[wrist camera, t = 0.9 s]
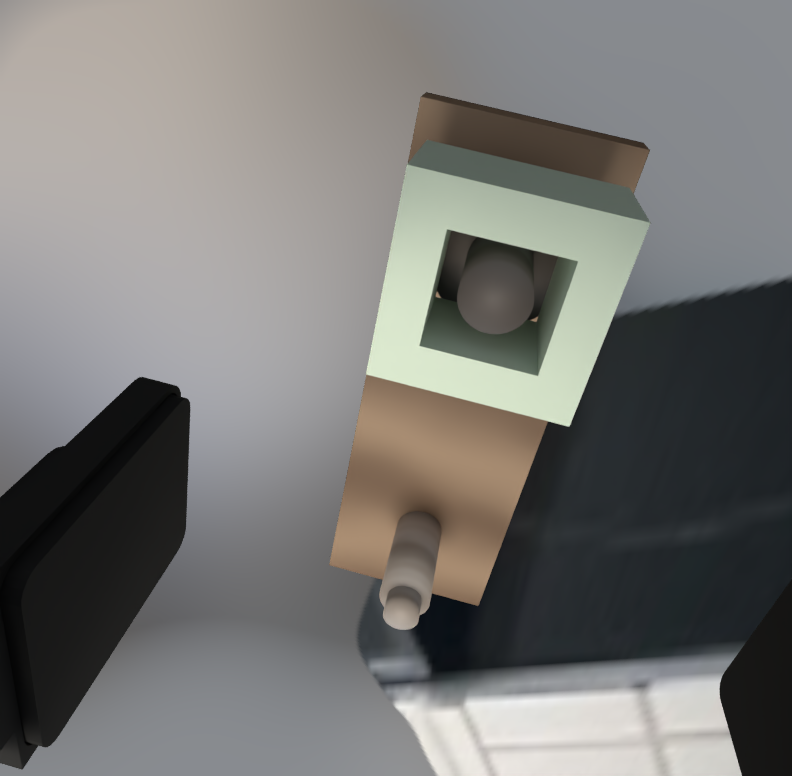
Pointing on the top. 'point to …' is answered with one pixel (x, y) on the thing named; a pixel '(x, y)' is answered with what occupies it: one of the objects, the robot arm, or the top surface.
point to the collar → (515, 225)
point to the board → (453, 417)
